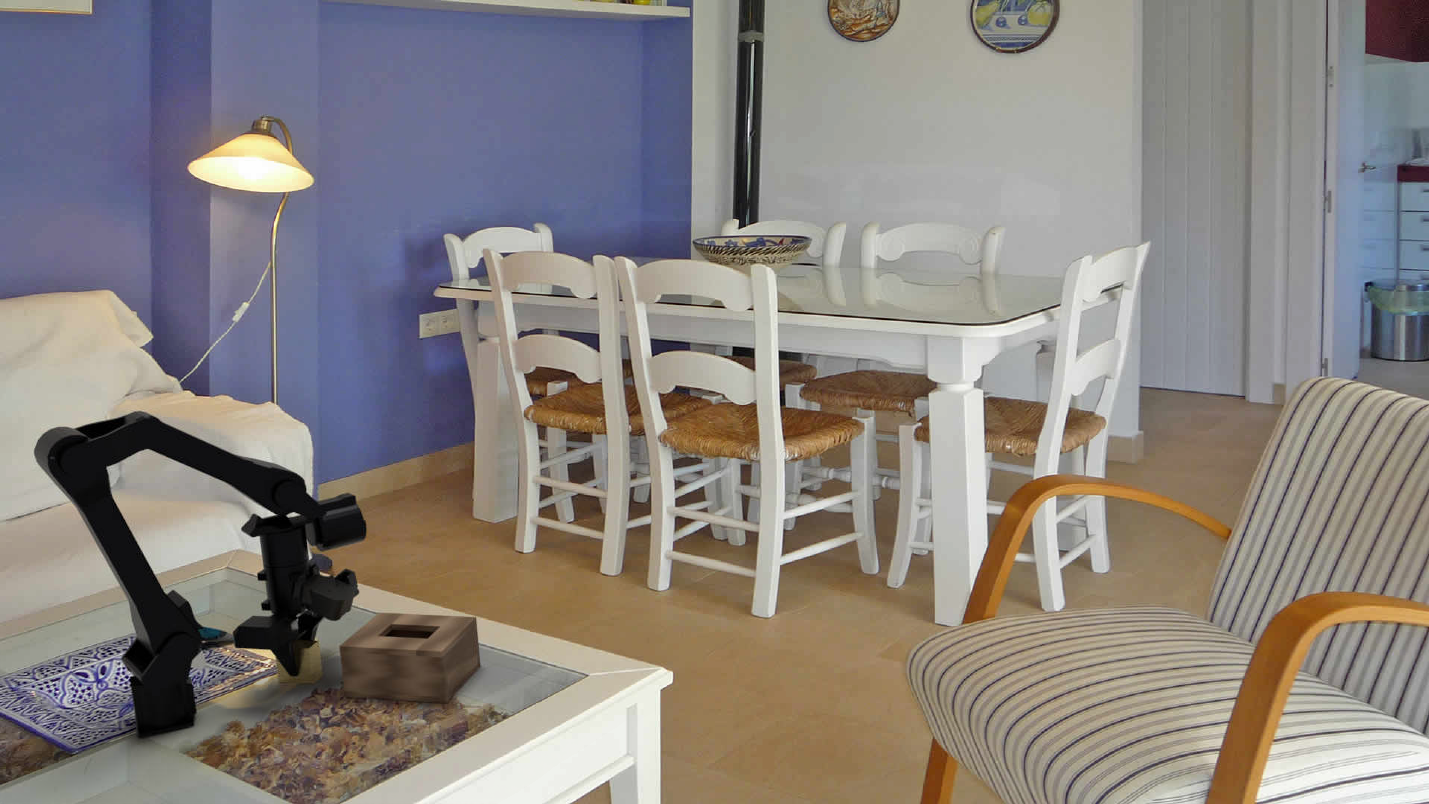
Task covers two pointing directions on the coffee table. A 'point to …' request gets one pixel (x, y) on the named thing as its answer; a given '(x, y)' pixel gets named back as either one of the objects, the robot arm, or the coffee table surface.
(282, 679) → the wooden plank piece
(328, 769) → the coffee table surface
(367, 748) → the coffee table surface
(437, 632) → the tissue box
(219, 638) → the decorative butterfly
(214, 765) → the coffee table surface
